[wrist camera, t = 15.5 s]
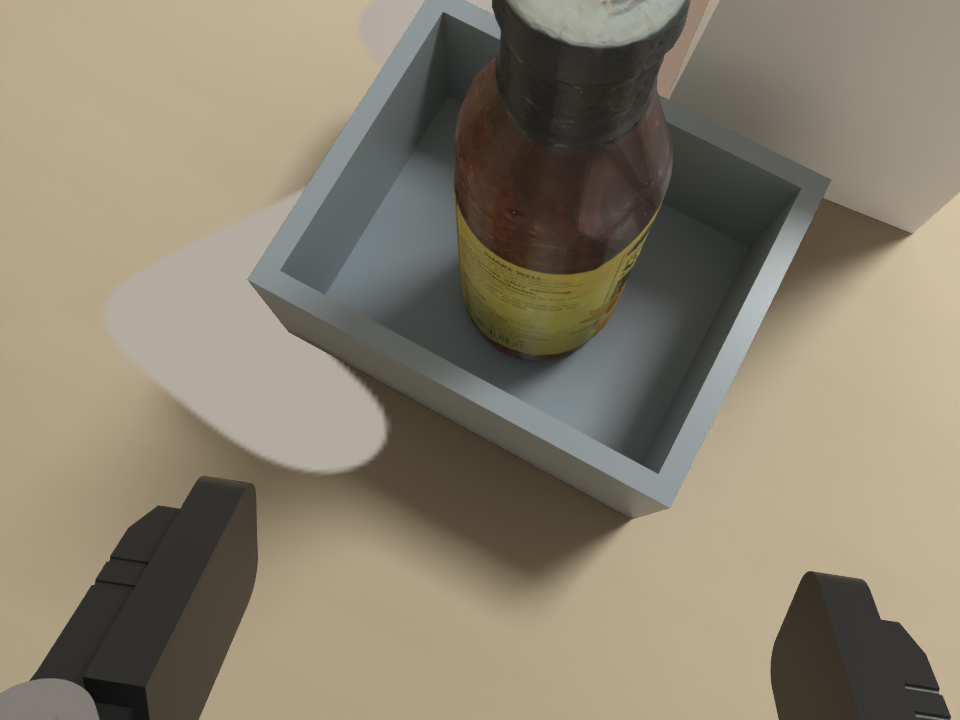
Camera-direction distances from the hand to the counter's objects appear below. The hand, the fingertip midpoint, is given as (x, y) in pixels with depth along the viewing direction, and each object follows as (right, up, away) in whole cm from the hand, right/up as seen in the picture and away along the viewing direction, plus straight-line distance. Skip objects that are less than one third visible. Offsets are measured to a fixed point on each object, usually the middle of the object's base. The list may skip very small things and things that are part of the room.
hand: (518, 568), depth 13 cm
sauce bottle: (+2, +6, +24) cm, 25 cm away
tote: (+2, +6, +25) cm, 25 cm away
